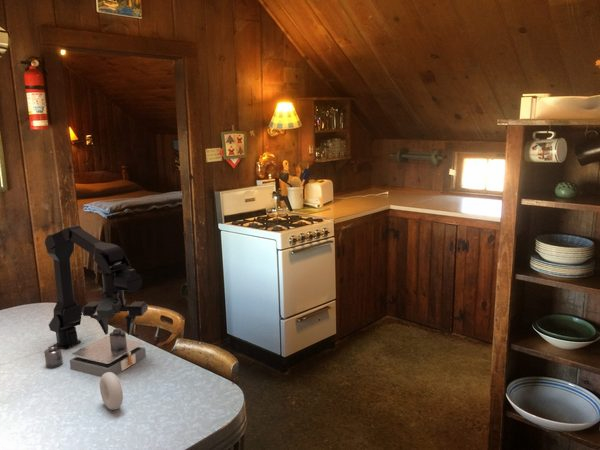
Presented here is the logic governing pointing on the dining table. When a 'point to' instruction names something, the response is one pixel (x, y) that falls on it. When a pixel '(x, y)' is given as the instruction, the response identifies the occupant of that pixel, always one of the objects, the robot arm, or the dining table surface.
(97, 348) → the scale pan
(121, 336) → the weight
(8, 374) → the dining table surface
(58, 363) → the weight
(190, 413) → the dining table surface
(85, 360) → the scale base
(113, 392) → the donut
